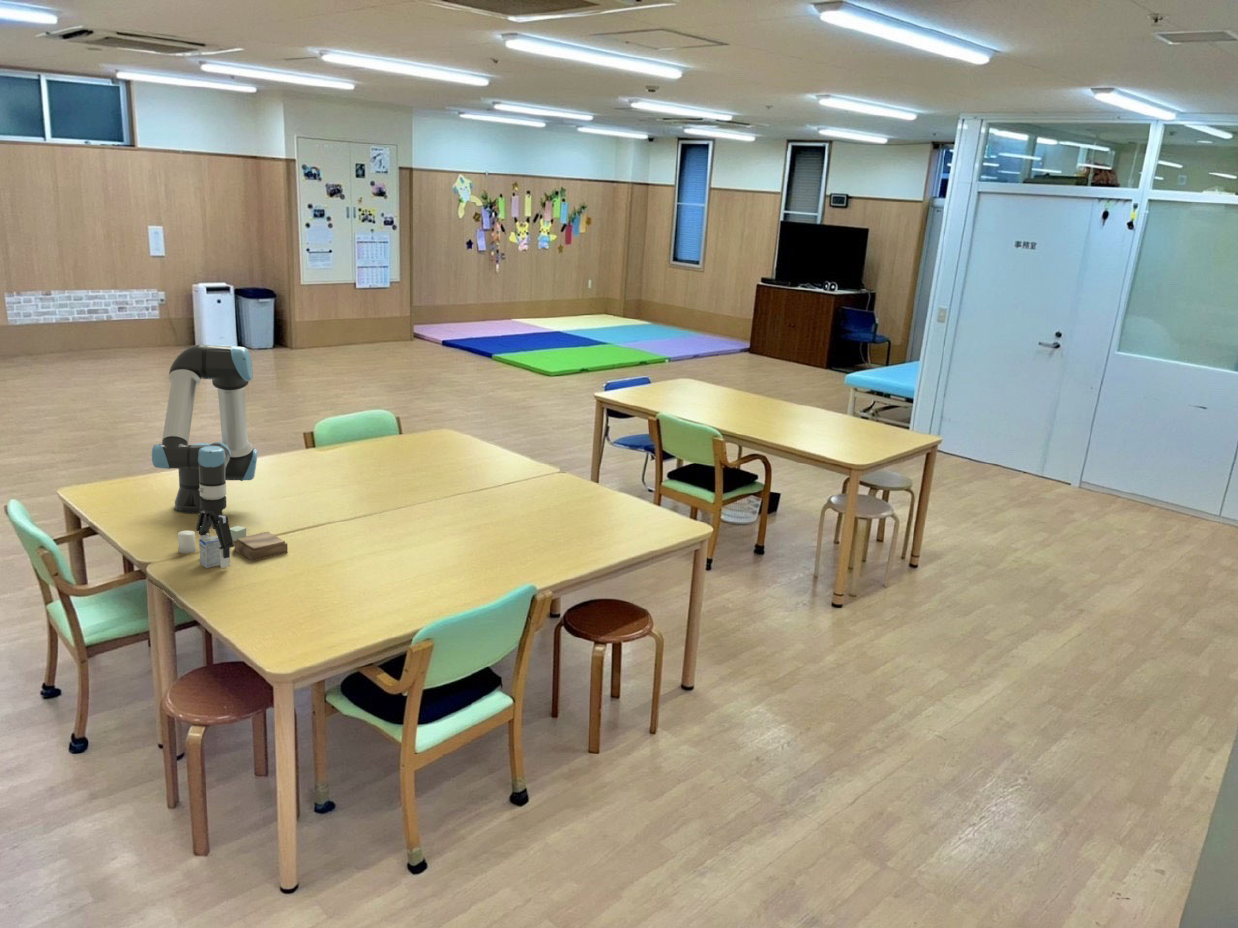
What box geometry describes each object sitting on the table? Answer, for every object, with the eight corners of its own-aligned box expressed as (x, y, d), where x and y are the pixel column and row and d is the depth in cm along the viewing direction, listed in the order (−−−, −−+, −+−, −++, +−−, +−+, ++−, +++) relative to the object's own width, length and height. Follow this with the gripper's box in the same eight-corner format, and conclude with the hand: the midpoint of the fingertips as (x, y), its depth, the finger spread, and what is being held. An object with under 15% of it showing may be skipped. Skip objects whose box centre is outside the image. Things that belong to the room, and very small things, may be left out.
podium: (234, 549, 299) (234, 538, 298) (268, 541, 308) (268, 530, 307) (253, 560, 292) (253, 549, 290) (287, 552, 300) (287, 541, 299)
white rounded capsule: (175, 549, 294) (175, 532, 293) (191, 546, 298) (190, 529, 296) (182, 554, 291) (182, 537, 290) (198, 551, 295) (197, 533, 293)
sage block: (228, 539, 306) (227, 528, 305) (237, 536, 310) (237, 525, 309) (236, 542, 305) (236, 531, 304) (246, 539, 308) (246, 528, 307)
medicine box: (223, 558, 291) (222, 533, 289) (230, 562, 289) (230, 537, 286) (199, 564, 285) (198, 538, 283) (206, 568, 283) (205, 543, 280)
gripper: (182, 487, 286) (185, 551, 291) (220, 509, 271) (222, 575, 277) (206, 483, 291) (208, 545, 297) (244, 504, 276) (245, 569, 282)
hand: (215, 560), depth 287 cm, fingers open, 12 cm apart
